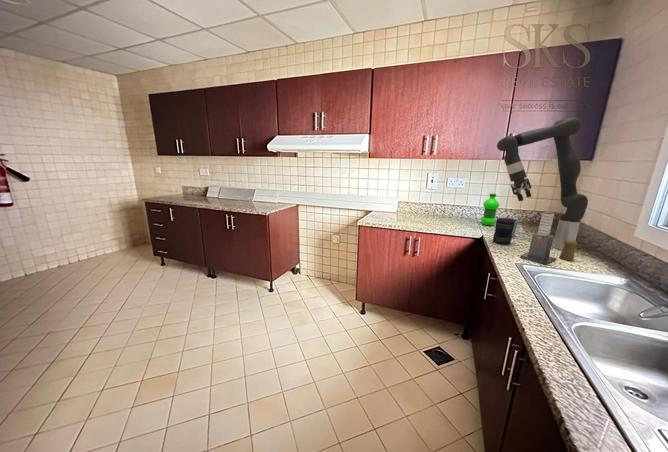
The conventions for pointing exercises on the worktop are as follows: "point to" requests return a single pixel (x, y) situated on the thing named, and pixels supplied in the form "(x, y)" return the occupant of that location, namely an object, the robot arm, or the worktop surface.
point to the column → (545, 224)
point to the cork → (568, 250)
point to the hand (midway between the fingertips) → (525, 198)
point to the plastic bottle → (490, 210)
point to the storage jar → (503, 231)
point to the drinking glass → (514, 225)
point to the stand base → (540, 250)
